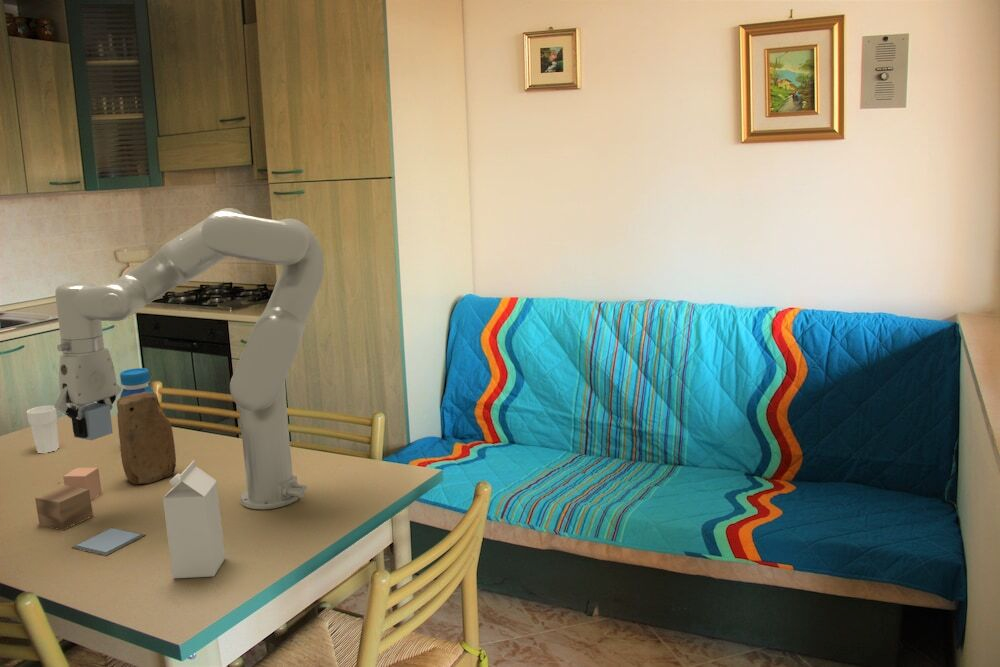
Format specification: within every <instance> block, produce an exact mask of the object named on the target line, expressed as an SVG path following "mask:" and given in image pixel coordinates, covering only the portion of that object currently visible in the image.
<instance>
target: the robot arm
mask: <svg viewBox="0 0 1000 667" xmlns="http://www.w3.org/2000/svg"><path fill="white" fill-rule="evenodd" d="M320 244H321V243H320V242H319V241H318V239H317V237H316V235H315V234H314V233H313V231H312V230H311V229H310V228H309V227H308V226H307V225H306V224H305V223H304V222H302V221H300V220H298V219H295V218H283V219H280V220H278V219H277V220H276V219H269V218H264V217H258V216H257V217H256V216H252V215H248V214H245V213H243V212H242V211H241V210H239V209H237V208H231V207H225V208H221V209H219V210H216V211H214V212H212V213H211V214H210V215H208V216H207V217H206V218H205V219H203V220H202V221H200V222H199V223H197V224H196V225H194V226H192V227H190V228H189V229H188V230H186V231H185V232H183V233H181V234H179V235H178V236H176V237H175V238H172V239H170V240H169V241H167V243H165V244H164V245H163V246H161V248H160V249H159V250H158V251H157V253H155V254H154V255H153V256H151V257H150V258H148V259H147V260H146V261H144V262H143V263H141V264H139V265H138V266H136V267H135V268H133V269H132V270H130V271H128V272H126V273H125V274H122V275H121V276H119V277H118V278H116V279H114V280H111V281H110V282H107V283H104V284H99V285H95V284H94V283H92V282H83V281H81V282H80V281H79V282H77V281H76V282H68V283H64V284H63V283H62V284H60V285H58V286H57V287H56V288H55V292H54V294H55V304H56V311H57V320H58V327H59V335H60V344H57V346H56V349H57V350H58V352H61V353H62V354H60V356H59V363H58V364H59V365H58V367H59V368H58V381H59V382H58V383H59V394H60V395H59V396H58V398H57V400H56V402H55V405H54V406H55V409H56V411H60V412H61V413H63V414H65V416H67V417H68V418H69V419H71V423H72V424H71V425H72V432H73V436H75V437H80V438H79V439H81V438H87V436H88V434H87V426H86V419H85V418H83V411H84V405H86V404H90V403H93V402H94V403H101V404H108V405H110V411H111V410H112V409H113V407H114V406H113V404H114V402H115V401H116V399H117V397H118V395H119V394H121V392H122V388H121V386H120V385H119V384H118V382H117V376H116V375H117V374H116V371H115V366H114V363H113V359H112V356H111V354H110V351H109V349H108V347H105V342H104V334H103V324H102V321H104V322H105V321H107V322H119V321H123V320H126V319H128V318H129V317H130V316H132V315H134V314H135V313H137V312H138V311H139V310H141V309H143V308H144V307H145V306H147V305H149V304H150V303H152V302H154V301H155V300H156V299H158V298H160V297H161V296H163V295H164V294H166V293H167V292H170V291H171V290H173V289H174V288H176V287H178V286H180V285H182V284H186V283H188V282H190V281H192V280H194V279H196V278H197V277H199V276H200V275H202V274H204V272H206V271H208V270H209V269H211V268H212V267H215V266H216V265H217V264H219V263H221V262H222V261H224V260H225V259H227V258H229V257H230V258H234V259H235V258H236V259H239V260H244V261H245V260H246V261H252V262H254V261H255V262H258V263H264V264H269V265H275V266H276V265H277V266H281V270H280V272H279V275H278V278H277V280H276V282H275V284H274V287H273V291H272V293H271V295H270V298H269V300H268V302H267V304H266V306H265V308H264V310H263V312H262V313H261V314H260V316H259V318H258V319H257V320H256V322H255V324H254V326H253V327H252V330H251V332H250V333H249V336H248V339H247V341H246V344H245V346H244V348H243V351H242V353H241V355H240V358H239V360H238V362H237V365H236V366H235V369H234V372H233V374H232V377H231V379H230V383H229V391H230V395H231V398H232V400H233V401H234V402H235V404H236V405H237V406H238V408H239V422H240V430H241V431H240V432H241V441H242V451H243V460H244V468H245V480H246V486H247V487H246V490H245V491H244V492H243V493H241V495H240V503H241V505H242V506H244V507H246V508H248V509H250V510H251V509H253V510H270V509H277V508H281V507H285V506H287V505H290V504H292V503H293V504H294V503H295V502H296V501H299V499H302V498H304V496H305V494H306V493H305V492H306V491H307V489H308V487H307V485H306V484H299V483H298V477H297V475H293V466H292V464H293V463H292V453H291V452H292V451H291V443H290V441H291V440H290V435H289V434H290V433H289V419H288V410H287V408H288V407H287V392H286V389H287V388H286V379H287V377H288V374H289V372H290V370H291V367H292V365H293V362H294V360H295V357H296V355H297V354H298V350H299V349H300V346H301V343H302V340H303V335H304V329H305V326H306V324H307V321H308V318H309V316H310V313H311V312H312V309H313V307H314V304H315V301H316V298H317V296H318V294H319V291H320V289H321V285H322V281H323V278H324V271H325V258H324V253H323V249H322V247H321V245H320ZM67 404H69V405H67ZM76 407H77V411H76ZM75 437H74V438H75Z"/></svg>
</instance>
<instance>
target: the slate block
mask: <svg viewBox="0 0 1000 667" xmlns="http://www.w3.org/2000/svg"><path fill="white" fill-rule="evenodd" d="M76 411H77V406H76ZM83 418H85V419H86V426H87V434H88V436H87V438H80V437H75V436H74V435H73V436H74V438H77V439H81V440H87V441H94V440H97V439H100V438H102V437H106V436H109V435H111V434H113V423H112V416H111V410H110V405H108V404H101V403H97V402H93V403H90V404H86V405H84V411H83Z"/></svg>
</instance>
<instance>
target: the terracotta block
mask: <svg viewBox="0 0 1000 667" xmlns="http://www.w3.org/2000/svg"><path fill="white" fill-rule="evenodd" d="M62 477H63V483H64V485H63V486H65V485H67V486H72V487H78V488H84V489H89V492H90V499H91V500H92V499H93V498H94V499H95V497H96V496H97V495H99V494H100V495H101V494H102V493H103V492H102V486H101V479H100V471H99V467H75V468H74V469H72V470H71V471H69V472H67V473H66V474H64V475H62ZM100 495H99V496H100ZM97 497H98V496H97ZM97 497H96V498H97ZM94 499H93V500H94ZM93 500H92V501H93Z"/></svg>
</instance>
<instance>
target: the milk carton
mask: <svg viewBox="0 0 1000 667" xmlns="http://www.w3.org/2000/svg"><path fill="white" fill-rule="evenodd" d="M168 483H169V484H170V485H171V486H173V487H171V489H170V490H169V491H168V492H167V493H166V494H165V495H164V497H163V498H162V503H163V504H162V505H163V511H164V513H163V514H164V519H165V526H166V527H165V528H166V535H167V542H168V551H169V557H170V568H171V573H172V579H189V578H190V579H191V578H192V579H193V578H208V577H212V578H213V577H215V575H216V574H217V572H218V571H219V569H220V568H221V566H222V564H223V563H224V561H225V559H226V550H225V545H224V543H225V541H224V536H223V526H222V515H221V510H220V508H221V507H220V500H219V491H218V490H219V489H218V482H217V480H216V479H215V478H214V477H212V476H210V475H209V474H208V473H206V472H205V471H203V470H202V469H201V468H199V466H198V467H197V466H196V460H195V459H194V460H192V461H191V463H190V464H189V465H188V466H187V467H186V468H185V469H184V470H183V471H182V472H181V473H176V474H175V475H174V476H173V477H172V478H171V479H170V480H169V482H168Z"/></svg>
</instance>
